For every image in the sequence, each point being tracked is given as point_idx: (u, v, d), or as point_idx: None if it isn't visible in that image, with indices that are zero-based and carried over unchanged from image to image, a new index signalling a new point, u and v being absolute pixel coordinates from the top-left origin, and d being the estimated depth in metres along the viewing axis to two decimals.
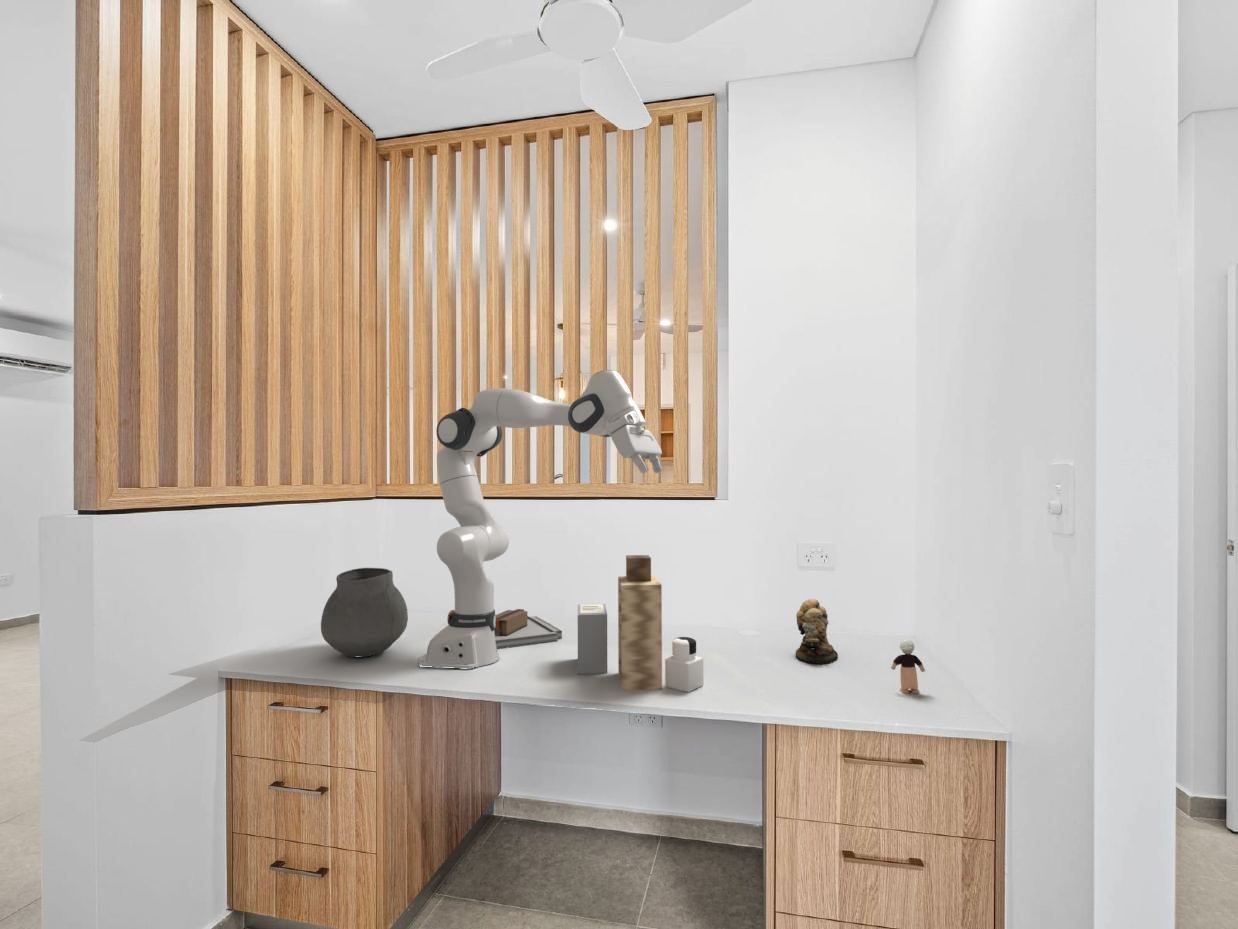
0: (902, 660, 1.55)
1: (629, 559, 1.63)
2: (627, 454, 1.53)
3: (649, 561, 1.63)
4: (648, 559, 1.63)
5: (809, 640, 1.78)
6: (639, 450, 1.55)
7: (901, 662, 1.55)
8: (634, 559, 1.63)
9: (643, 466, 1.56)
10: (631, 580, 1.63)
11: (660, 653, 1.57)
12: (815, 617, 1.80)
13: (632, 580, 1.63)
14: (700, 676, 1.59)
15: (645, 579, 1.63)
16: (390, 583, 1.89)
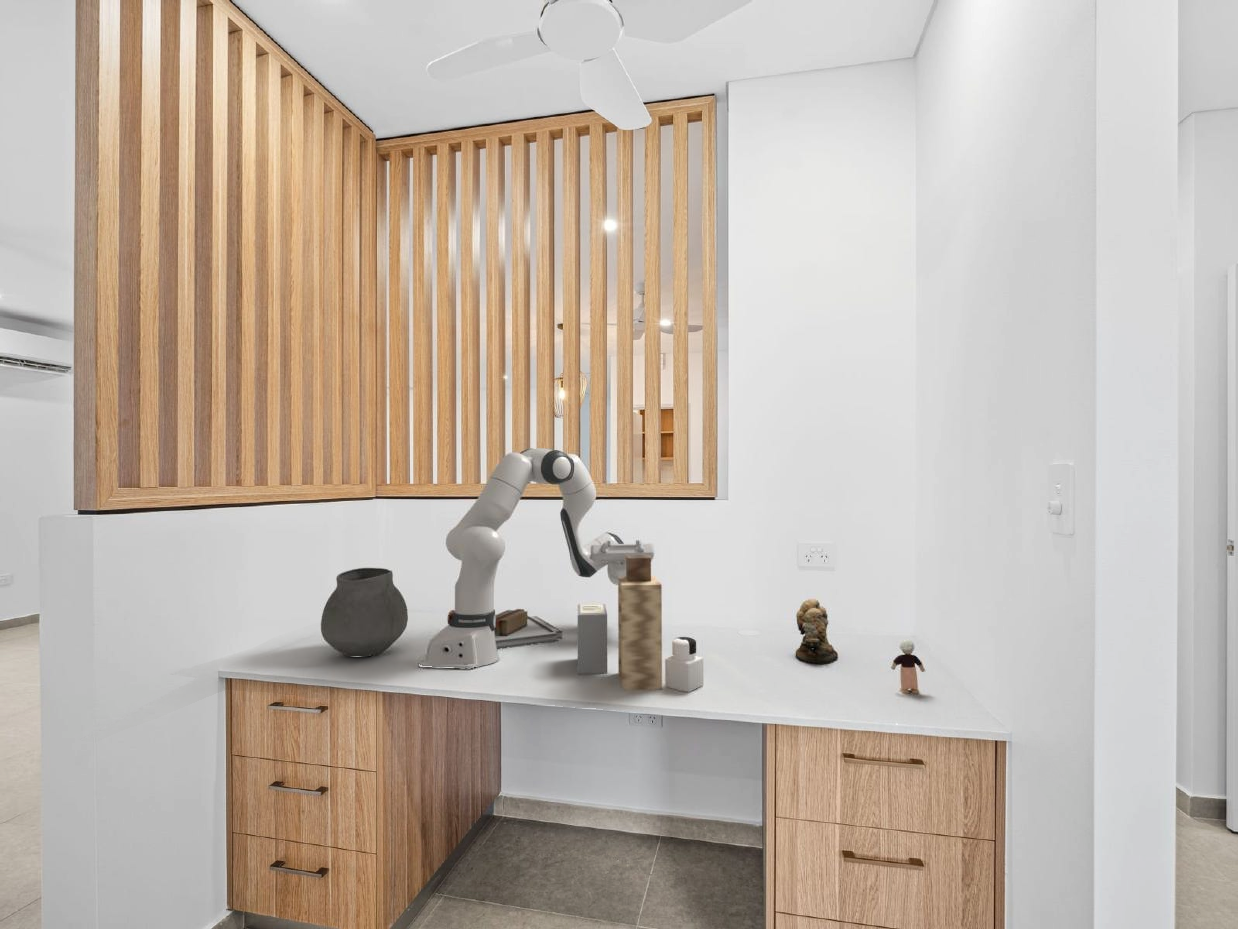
0: (902, 660, 1.55)
1: (629, 559, 1.63)
2: (652, 547, 2.00)
3: (649, 561, 1.63)
4: (648, 559, 1.63)
5: (809, 640, 1.78)
6: (642, 553, 1.99)
7: (901, 662, 1.55)
8: (634, 559, 1.63)
9: (640, 545, 1.96)
10: (631, 580, 1.63)
11: (660, 653, 1.57)
12: (815, 617, 1.80)
13: (632, 580, 1.63)
14: (700, 676, 1.59)
15: (645, 579, 1.63)
16: (390, 583, 1.89)
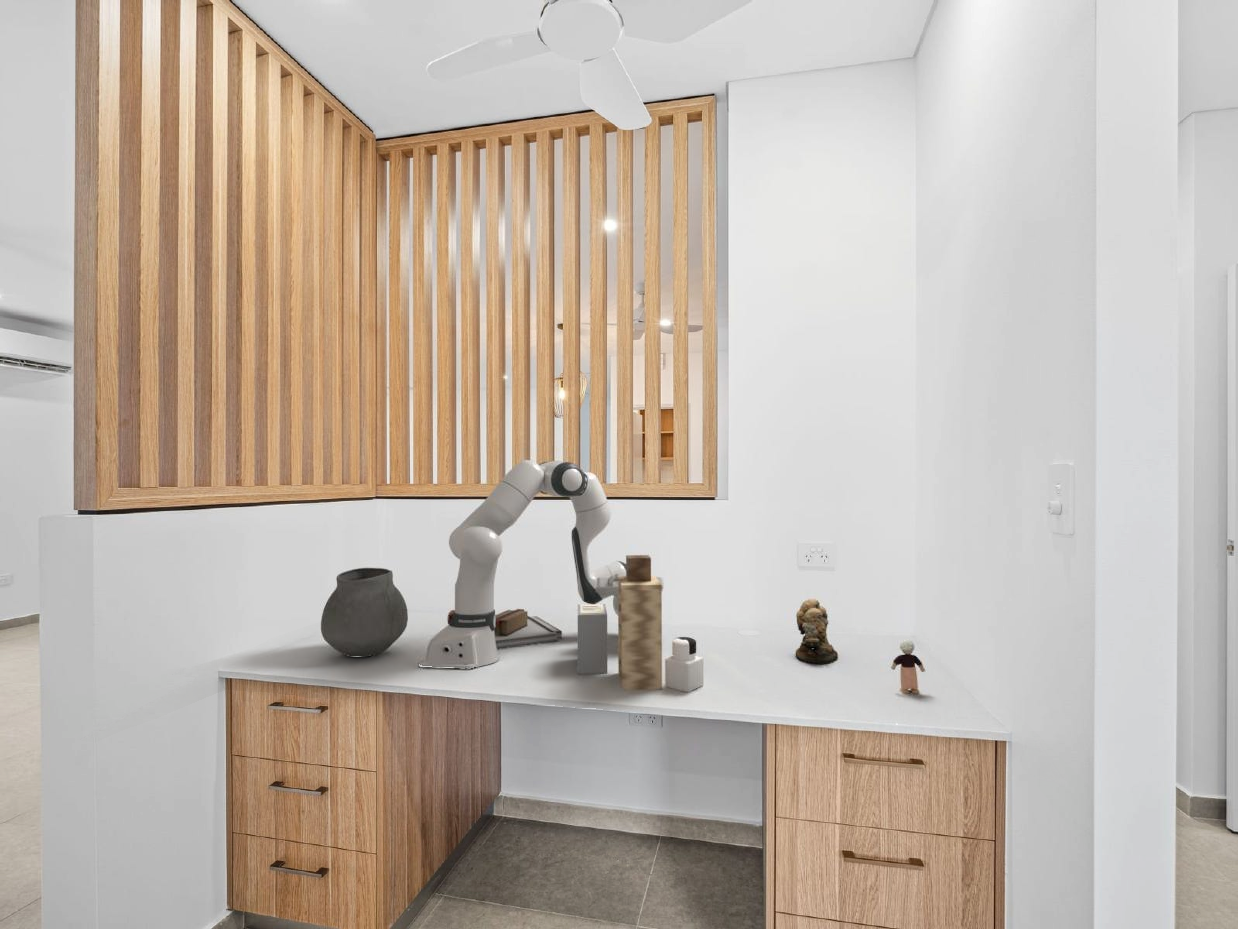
0: (902, 660, 1.55)
1: (629, 559, 1.63)
2: (662, 581, 1.91)
3: (649, 561, 1.63)
4: (648, 559, 1.63)
5: (809, 640, 1.78)
6: None
7: (901, 662, 1.55)
8: (634, 559, 1.63)
9: None
10: (631, 580, 1.63)
11: (660, 653, 1.57)
12: (815, 617, 1.80)
13: (632, 580, 1.63)
14: (700, 676, 1.59)
15: (645, 579, 1.63)
16: (390, 583, 1.89)
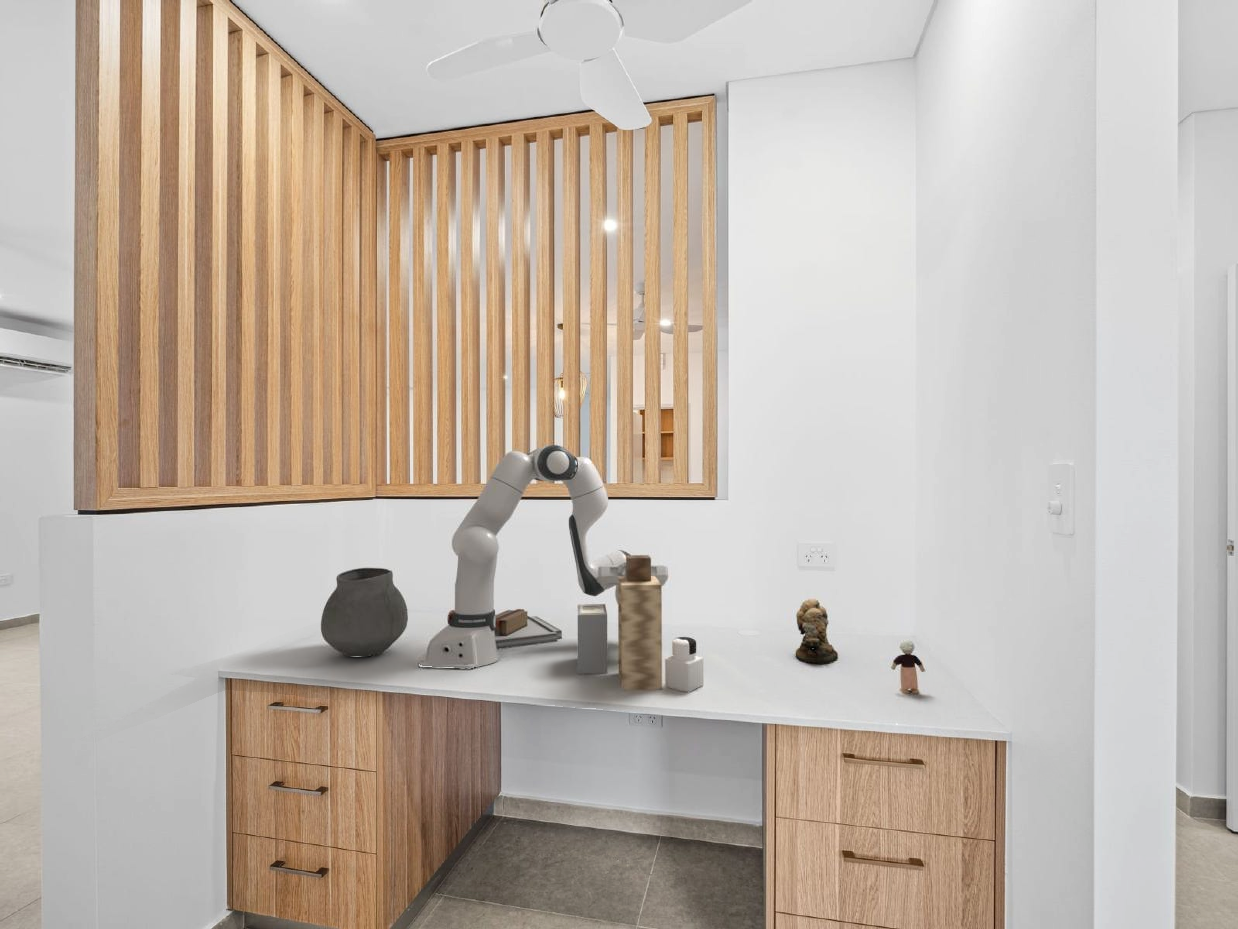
0: (902, 660, 1.55)
1: (629, 559, 1.63)
2: (666, 569, 1.82)
3: (649, 561, 1.63)
4: (648, 559, 1.63)
5: (809, 640, 1.78)
6: (655, 576, 1.81)
7: (901, 662, 1.55)
8: (634, 559, 1.63)
9: None
10: (631, 580, 1.63)
11: (660, 653, 1.57)
12: (816, 617, 1.80)
13: (632, 580, 1.63)
14: (700, 676, 1.59)
15: (645, 579, 1.63)
16: (390, 583, 1.89)
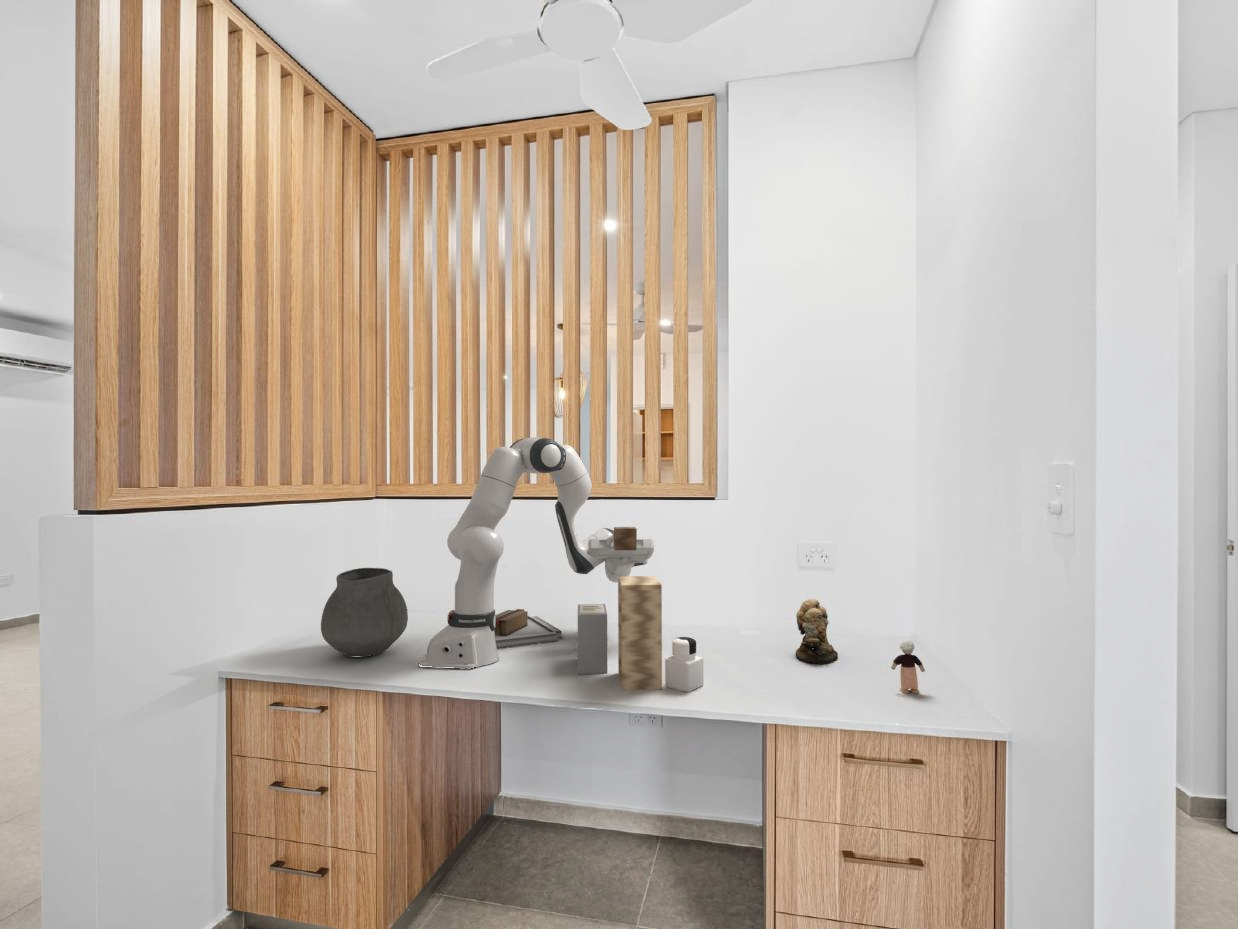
0: (902, 660, 1.55)
1: (616, 529, 1.75)
2: (652, 542, 1.94)
3: (635, 531, 1.75)
4: (634, 530, 1.75)
5: (809, 640, 1.78)
6: (642, 549, 1.92)
7: (901, 662, 1.55)
8: (621, 529, 1.75)
9: None
10: (618, 549, 1.75)
11: (660, 653, 1.57)
12: (816, 617, 1.80)
13: (619, 549, 1.75)
14: (700, 676, 1.59)
15: (631, 548, 1.75)
16: (390, 583, 1.89)
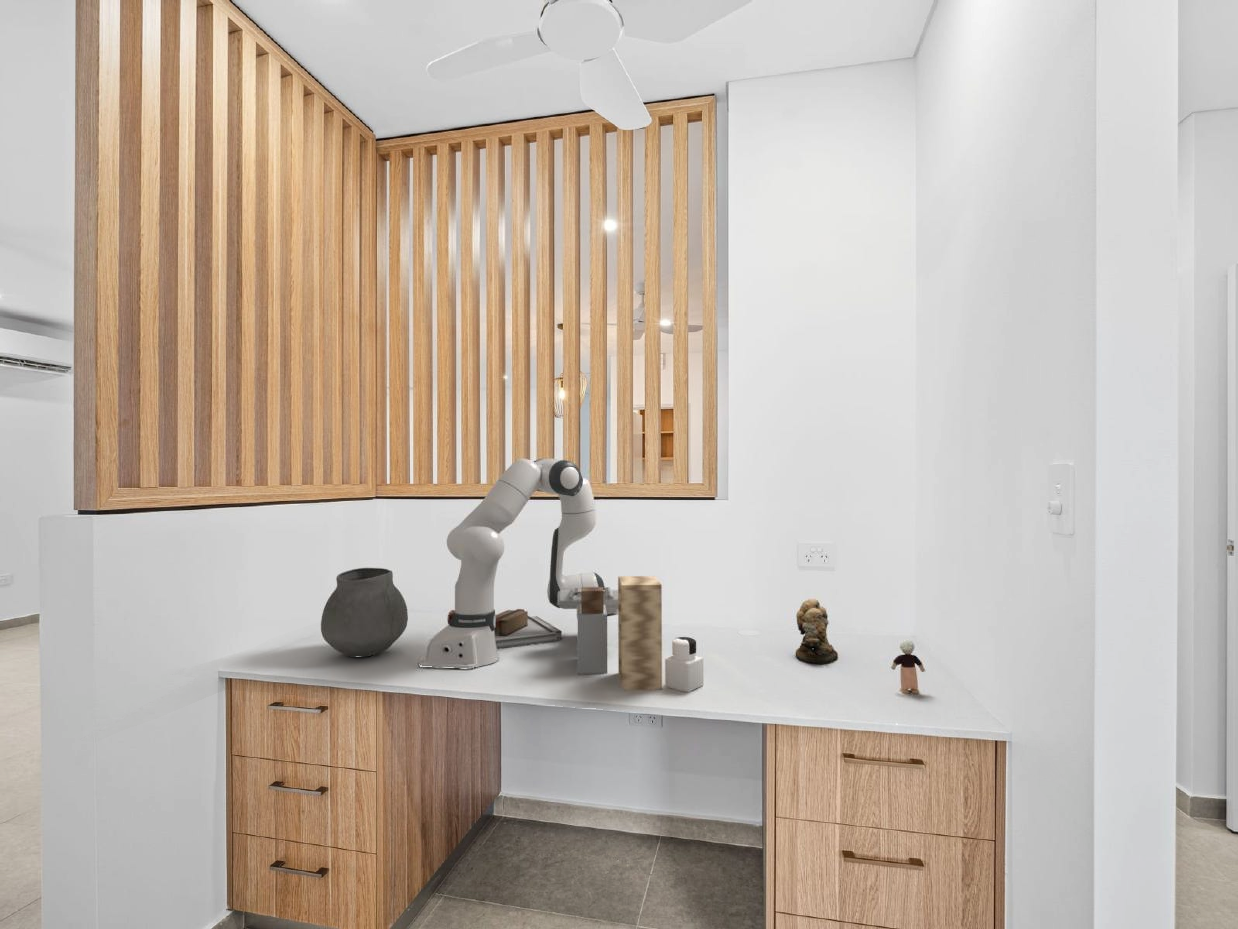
0: (902, 660, 1.55)
1: (583, 592, 1.71)
2: None
3: (602, 594, 1.71)
4: (601, 592, 1.71)
5: (809, 640, 1.78)
6: (612, 601, 1.89)
7: (901, 662, 1.55)
8: (587, 592, 1.71)
9: (609, 592, 1.86)
10: (584, 612, 1.71)
11: (660, 653, 1.57)
12: (816, 617, 1.80)
13: (586, 612, 1.71)
14: (700, 676, 1.59)
15: (598, 611, 1.71)
16: (390, 583, 1.89)
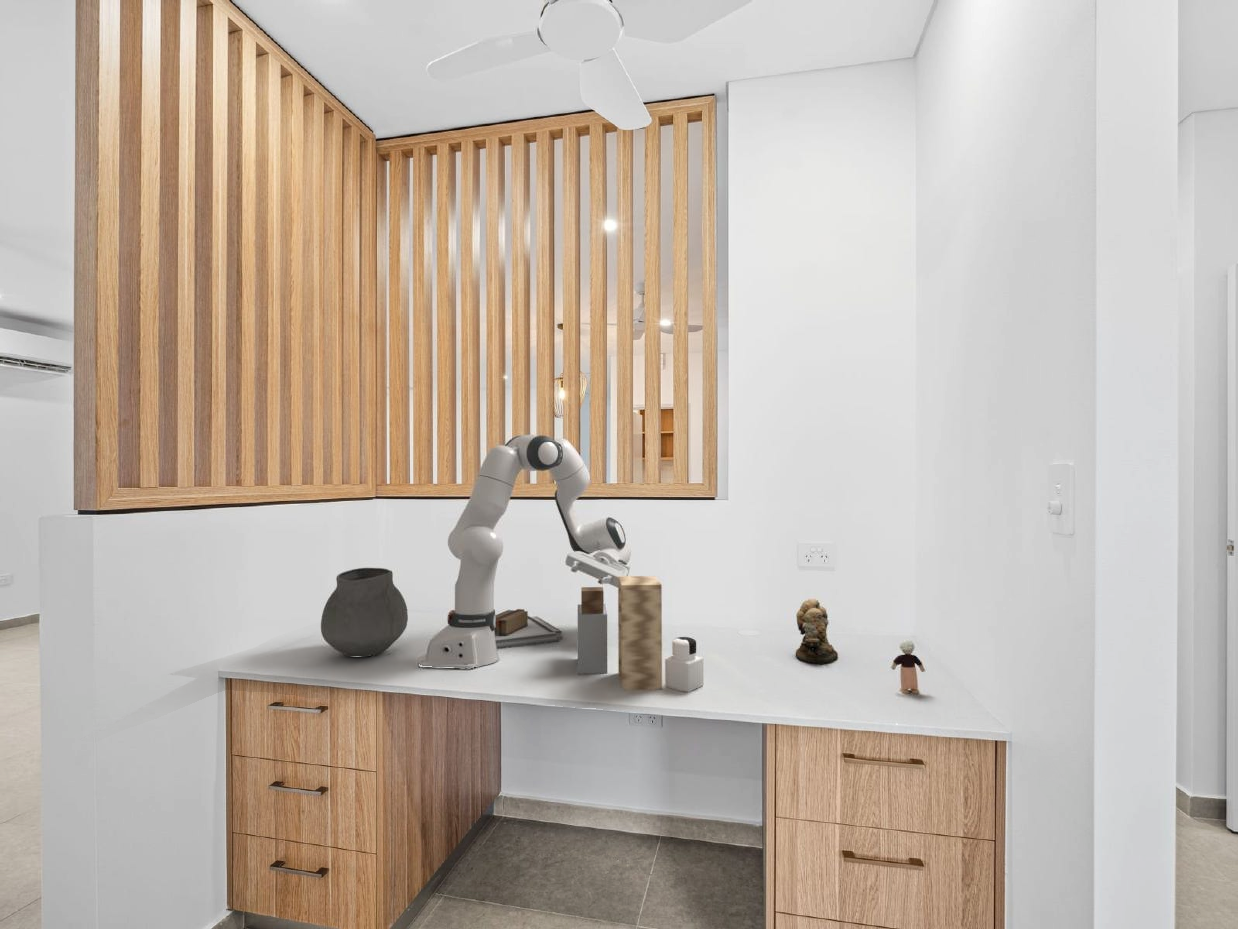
0: (902, 660, 1.55)
1: (583, 592, 1.71)
2: None
3: (602, 594, 1.71)
4: (601, 592, 1.71)
5: (809, 640, 1.78)
6: None
7: (901, 662, 1.55)
8: (587, 592, 1.71)
9: (603, 582, 1.92)
10: (584, 612, 1.71)
11: (660, 653, 1.57)
12: (816, 617, 1.80)
13: (586, 612, 1.71)
14: (700, 676, 1.59)
15: (598, 611, 1.71)
16: (390, 583, 1.89)
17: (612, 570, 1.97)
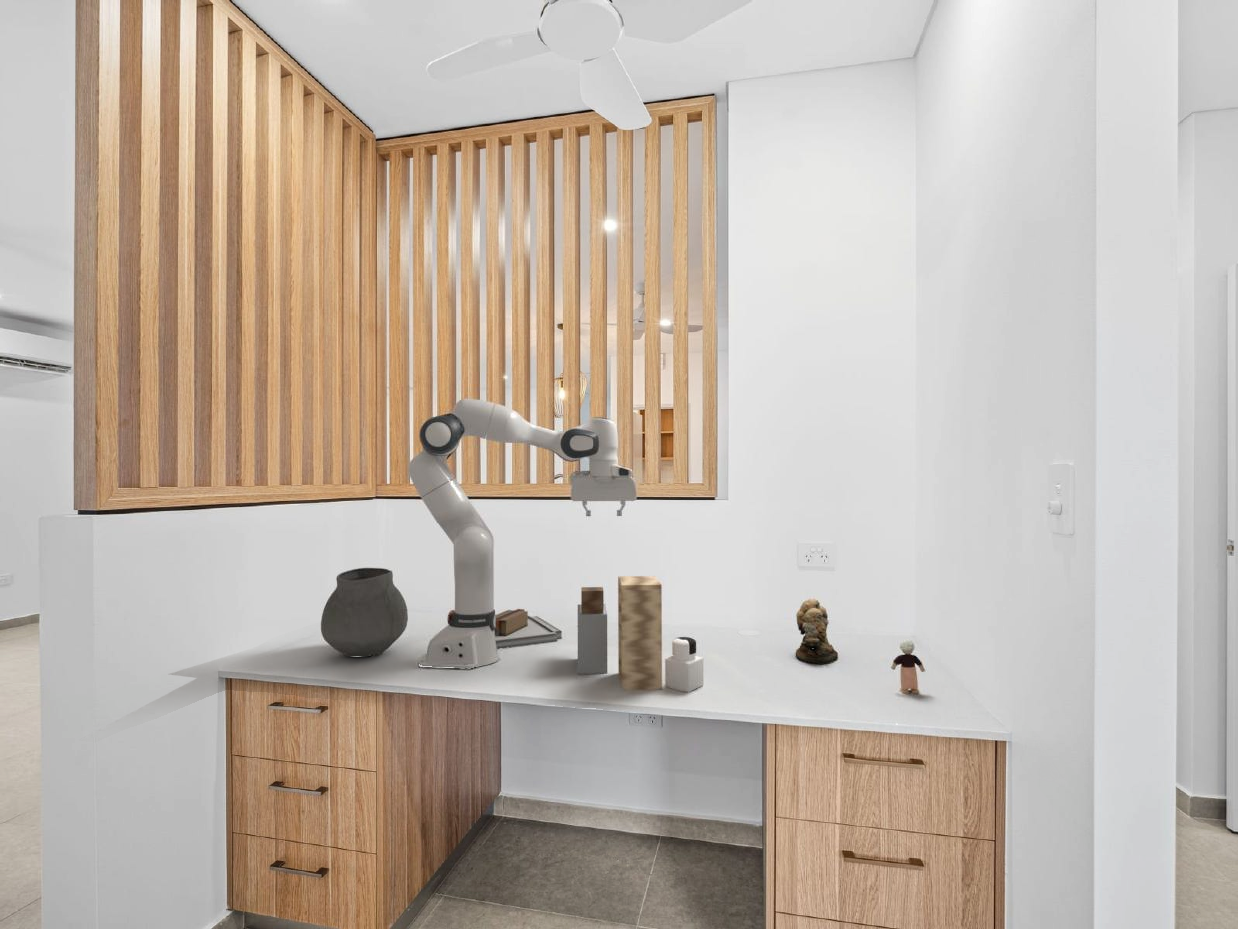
0: (902, 660, 1.55)
1: (583, 592, 1.71)
2: (635, 499, 1.93)
3: (602, 594, 1.71)
4: (601, 592, 1.71)
5: (809, 640, 1.78)
6: None
7: (901, 662, 1.55)
8: (587, 592, 1.71)
9: None
10: (584, 612, 1.71)
11: (660, 653, 1.57)
12: (816, 617, 1.80)
13: (586, 612, 1.71)
14: (700, 676, 1.59)
15: (598, 611, 1.71)
16: (390, 583, 1.89)
17: (621, 492, 1.91)
